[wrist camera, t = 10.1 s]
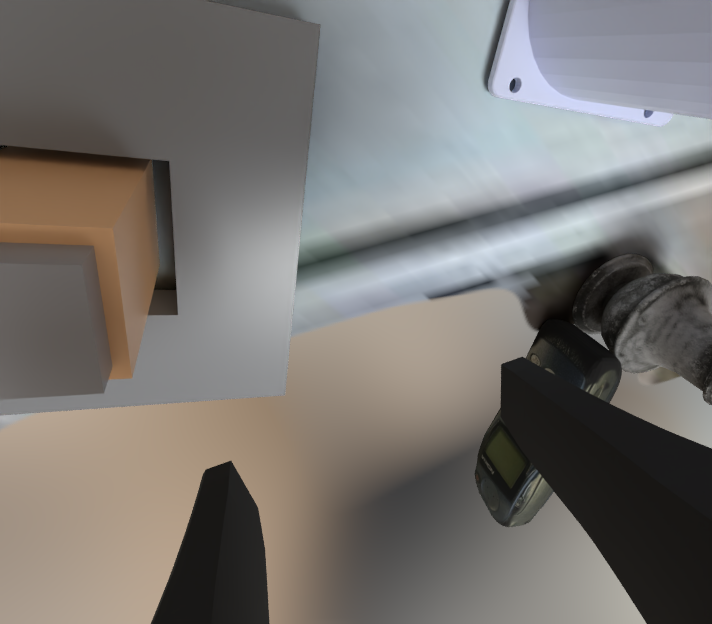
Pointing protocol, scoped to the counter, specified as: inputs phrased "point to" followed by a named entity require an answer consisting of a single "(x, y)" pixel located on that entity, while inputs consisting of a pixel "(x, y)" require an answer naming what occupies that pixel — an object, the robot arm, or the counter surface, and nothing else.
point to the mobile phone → (499, 449)
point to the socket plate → (181, 170)
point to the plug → (73, 269)
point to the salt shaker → (650, 318)
